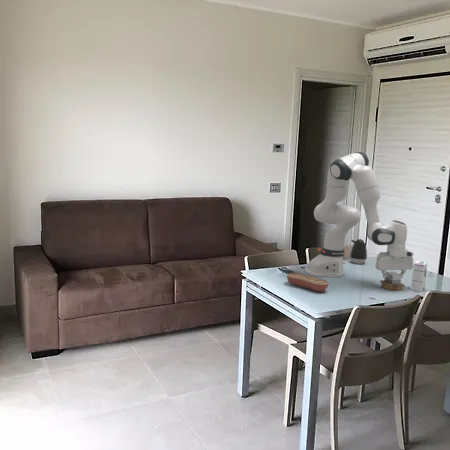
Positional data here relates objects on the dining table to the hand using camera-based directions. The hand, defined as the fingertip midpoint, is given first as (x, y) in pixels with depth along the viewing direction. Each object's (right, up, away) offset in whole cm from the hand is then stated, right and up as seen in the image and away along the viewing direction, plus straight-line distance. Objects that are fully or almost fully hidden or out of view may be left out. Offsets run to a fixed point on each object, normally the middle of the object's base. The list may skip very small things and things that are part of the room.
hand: (392, 277), depth 260 cm
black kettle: (-5, +4, +52) cm, 52 cm away
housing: (0, -3, +1) cm, 3 cm away
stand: (0, -6, +1) cm, 6 cm away
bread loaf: (-46, -5, -6) cm, 46 cm away
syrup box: (+13, -6, +1) cm, 15 cm away
